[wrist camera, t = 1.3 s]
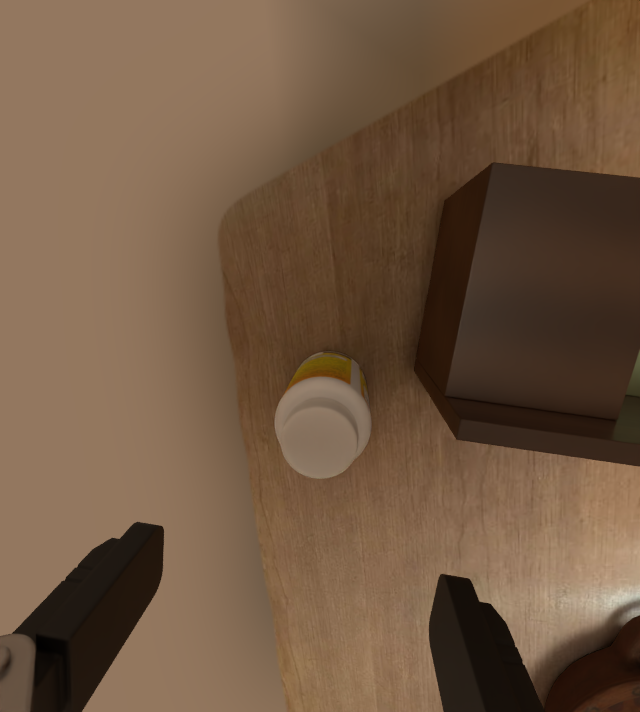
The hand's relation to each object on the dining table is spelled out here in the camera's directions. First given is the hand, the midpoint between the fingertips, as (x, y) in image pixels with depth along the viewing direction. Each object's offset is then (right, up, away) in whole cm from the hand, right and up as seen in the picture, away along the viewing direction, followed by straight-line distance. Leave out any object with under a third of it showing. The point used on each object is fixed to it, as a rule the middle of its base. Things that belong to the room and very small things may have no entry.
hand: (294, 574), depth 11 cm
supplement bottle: (+2, +4, +18) cm, 19 cm away
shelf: (+17, +10, +15) cm, 25 cm away
